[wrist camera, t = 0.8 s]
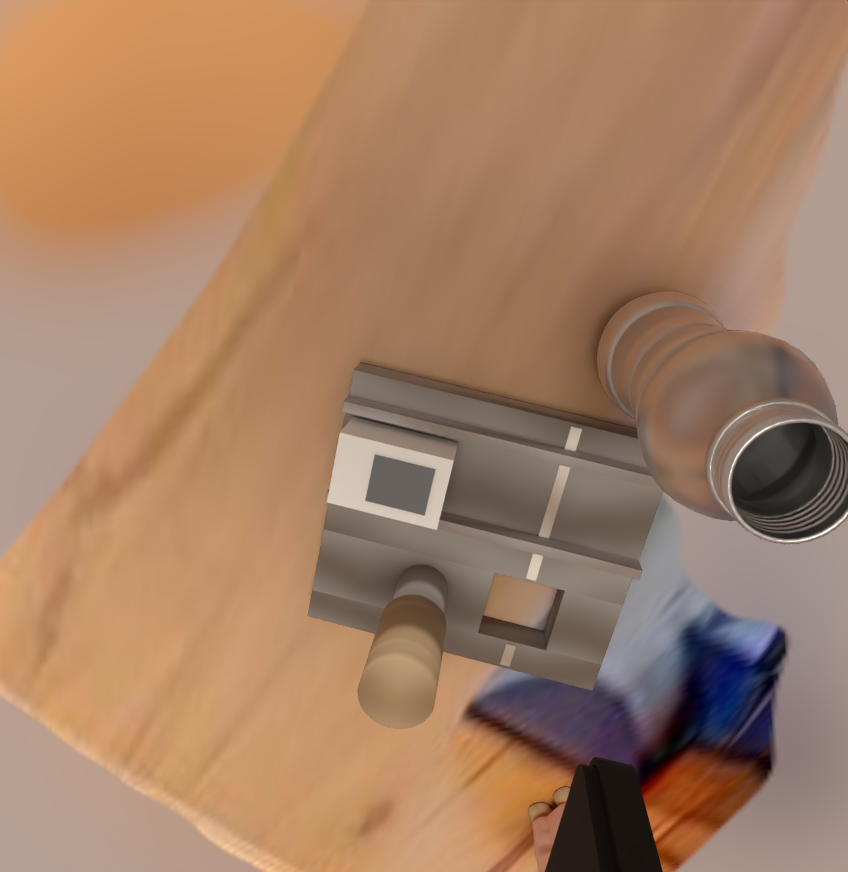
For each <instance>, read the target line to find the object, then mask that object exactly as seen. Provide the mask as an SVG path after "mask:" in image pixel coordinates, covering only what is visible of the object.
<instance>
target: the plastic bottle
mask: <svg viewBox="0 0 848 872" xmlns="http://www.w3.org/2000/svg"><path fill="white" fill-rule="evenodd" d="M597 370H598V374H599V379H600V382H601V384H602V386H603V389H604V391H605V393H606V394H607V395H608V397H609V398H610V399H611V401H612V402H613V403H614V404H615V405H616V406H617V407H619V408H620V409H621V410H622V411H623V412H625V413H626V414H627V415H629V416H631V417H632V418H634V419H636V425H637V436H638V440H639V444H640V449H641V452H642V455H643V458H644V461H645V463H646V465H647V468H648V470H649V472H650V474H651V476H652V477H653V479H654V480H655V481H656V483H657V484H658V485H659V487H660V488H661V489H662V490H663V491H664V492H665V493H666V494H668V495H669V496H670V497H671V498H672V499H673V500H675V501H676V502H678V503H680V504H682V505H683V506H685V507H687V508H688V509H691V510H693V511H695V512H698V513H700V514H703V515H706V516H709V517H712V518H715V519H721V520H728V521H737V522H738V523H739V524H740V525H741V526H742V527H743V528H745V529H746V530H747V531H749V532H750V533H752V534H754V535H756V536H757V537H759V538H761V539H764V540H767V541H770V542H774V543H781V544H799V543H804V542H809V541H813V540H815V539H818V538H820V537H823V536H825V535H827V534H828V533H830V532H831V531H833V530H835V529H836V528H837V527H839V526H840V525H841V524H842V523H843V522H844V521H845V520H846V519H847V518H848V434H847V433H846V432H845V431H844V430H843V429H842V428H841V427H839V426H838V419H837V413H836V406H835V403H834V400H833V398H832V395H831V393H830V390H829V388H828V385H827V383H826V381H825V378H824V377H823V376H822V374H821V372H820V371H819V370H818V368H817V367H816V365H815V364H814V363H813V362H812V361H811V360H810V359H809V358H808V357H807V356H806V355H805V354H804V353H803V352H802V351H800V350H799V349H797V348H795V347H794V346H792V345H790V344H788V343H787V342H785V341H782V340H779V339H776V338H773V337H770V336H767V335H764V334H760V333H757V332H748V331H740V330H726V328H725V326H724V325H723V324H722V322H721V321H720V319H719V318H718V317H717V315H716V314H715V313H714V312H713V311H712V310H711V309H710V308H709V307H708V306H707V305H706V304H705V303H703V302H701V301H700V300H698V299H696V298H695V297H693V296H690V295H687V294H684V293H680V292H672V291H663V292H654V293H650V294H647V295H643V296H640V297H637V298H636V299H634V300H632V301H630V302H628V303H626V304H625V305H624V306H622V307H621V308H620V309H619V310H618V311H617V312H616V313H615V314H614V315H613V316H612V317H611V318H610V320H609V322H608V323H607V325H606V327H605V328H604V330H603V333H602V336H601V338H600V342H599V346H598V352H597Z"/></svg>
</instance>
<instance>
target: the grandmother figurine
mask: <svg viewBox="0 0 848 872" xmlns="http://www.w3.org/2000/svg"><path fill="white" fill-rule="evenodd" d="M569 791H570V788H569V787H562V788H560V789H558V790H557V791H556V792H555V793H554V795H553V799H554V801H555V803H556V804H557V806H558V807H557V808H556V809H555V810H552V808H551V807H550V806H549V805H548V804H546V803H541V802H540V803H536V804H533V805H531V806H530V808H529V816H530V819H531V822H532V826H533V834H534V848H535V855H536V860H537V865H538V869H539V872H545V869H546V866H547V863H548V859H549V856H550V853H551V850H552V846H553V843H554V840H555V837H556V833H557V830H558V827H559V824H560V820H561V817H562V814H563V811H564V807H565V804H566V801H567V797H568V794H569Z"/></svg>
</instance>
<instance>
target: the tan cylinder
mask: <svg viewBox="0 0 848 872" xmlns="http://www.w3.org/2000/svg"><path fill="white" fill-rule="evenodd" d="M447 591H448V586H447V582H446V579H445V577H444V576H443V575H442V573H441V572H440V571H438V570H437V569H436V568H434V567H432V566H429V565H422V564H420V565H414V566H411V567H409V568H407V569H406V570H405V571H404V572H403V573H402V574H401V575H400V577H399V580H398V583H397V587H396V590H395V593H394V596H393V599H392V601H391V602H390V603H389V604H388V605H387V606H386V607H385V609H384V611H383V613H382V616H381V619H380V622H379V625H378V628H377V631H376V634H375V637H374V640H373V643H372V646H371V649H370V652H369V655H368V658H367V661H366V664H365V667H364V670H363V673H362V677H361V680H360V683H359V686H358V699H359V702H360V705H361V707H362V709H363V710H364V712H365V713H366V714H367V715H368V716H369V717H370V718H371V719H373V720H374V721H375V722H377V723H379V724H381V725H383V726H386V727H389V728H395V729H406V728H411V727H414V726H417V725H419V724H421V723H422V722H424V721H425V720H426V719H427V718H428V717H429V716H430V714H431V712H432V711H433V708H434V704H435V698H436V692H437V685H438V679H439V673H440V667H441V660H442V654H443V648H444V641H445V635H446V629H447V624H446V619H445V616H444V608H445V602H446V596H447Z"/></svg>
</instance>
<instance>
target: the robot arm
mask: <svg viewBox="0 0 848 872" xmlns="http://www.w3.org/2000/svg"><path fill="white" fill-rule="evenodd" d="M545 872H663V871H662V867H661V863H660V860H659V856H658V852H657V848H656V845H655V841H654V837H653V833H652V830H651V826H650V822H649V819H648V815H647V811H646V807H645V804H644V800H643V796H642V792H641V789H640V785H639V781H638V777H637V774H636V771H635V768H634V767H633V766H632V765H629V764H624V763H620V762H616V761H611V760H607V759H603V758H598V757H594V758H593V759H592V760H591V762H590V765H589V766H587V765H582V764H579V765H578V767H577V769H576V771H575V775H574V778H573V781H572V784H571V788H570V791H569V794H568V797H567V801H566V804H565V807H564V811H563V814H562V817H561V820H560V824H559V827H558V830H557V833H556V837H555V840H554V843H553V846H552V850H551V853H550V856H549V859H548V863H547V866H546V869H545Z"/></svg>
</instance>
